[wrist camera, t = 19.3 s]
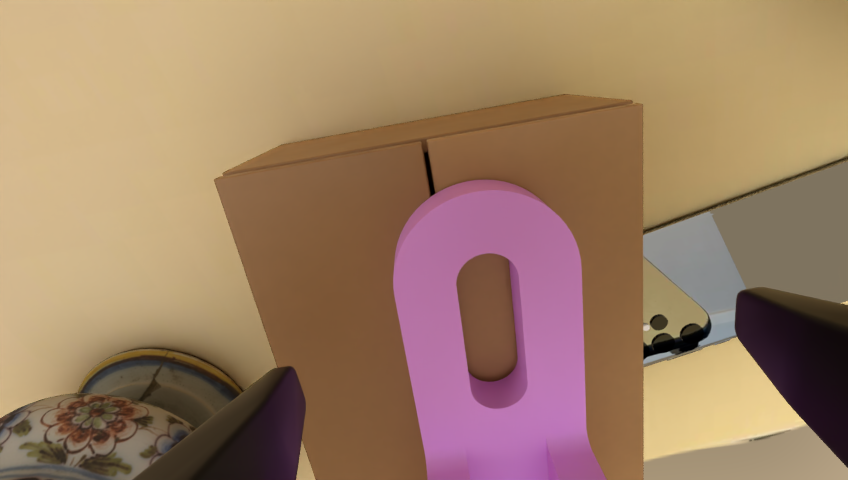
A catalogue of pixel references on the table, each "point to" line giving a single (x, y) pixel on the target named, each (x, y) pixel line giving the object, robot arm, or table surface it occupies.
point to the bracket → (534, 327)
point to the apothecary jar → (114, 418)
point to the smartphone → (743, 259)
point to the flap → (599, 251)
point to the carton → (349, 275)
